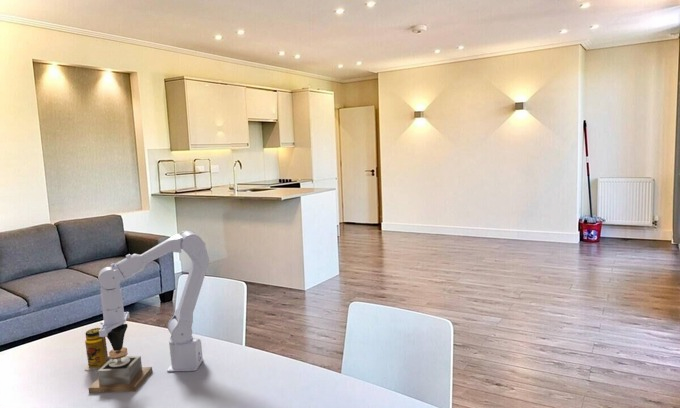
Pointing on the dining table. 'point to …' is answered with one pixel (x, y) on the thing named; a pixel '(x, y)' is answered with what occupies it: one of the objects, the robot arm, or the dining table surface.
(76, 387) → the dining table surface
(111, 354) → the plunger
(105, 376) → the base
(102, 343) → the condiment
